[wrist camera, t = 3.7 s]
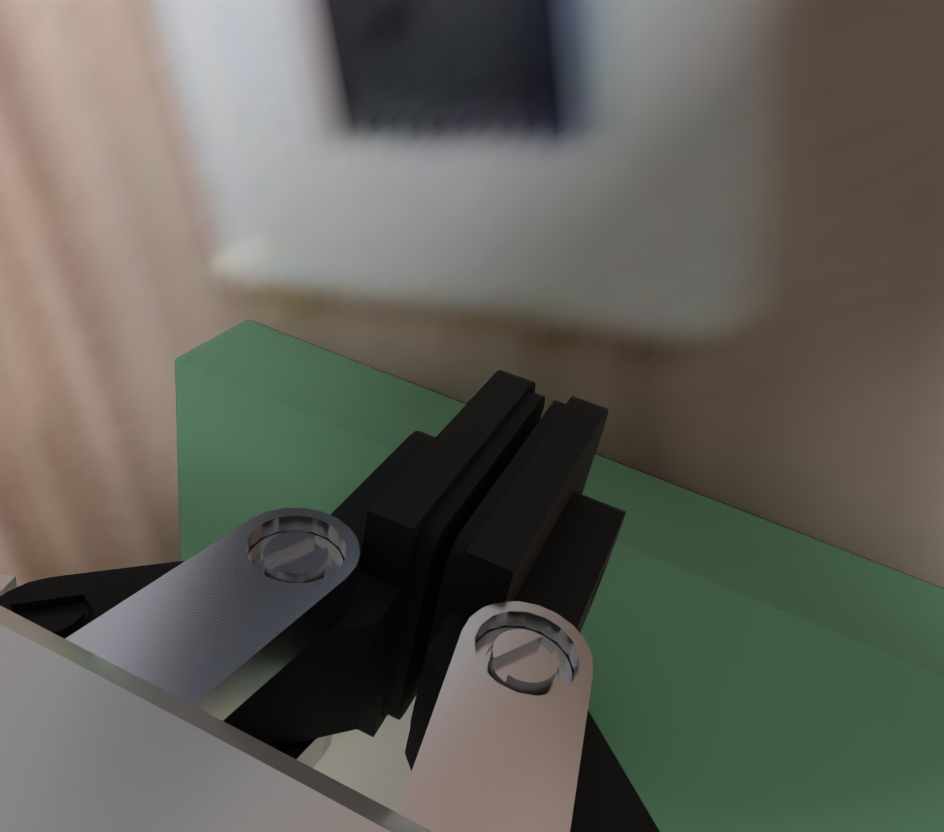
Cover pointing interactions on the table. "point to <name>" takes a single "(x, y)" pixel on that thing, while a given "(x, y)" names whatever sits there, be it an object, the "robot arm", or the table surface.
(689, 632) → the mat
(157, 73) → the table surface
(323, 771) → the ball
